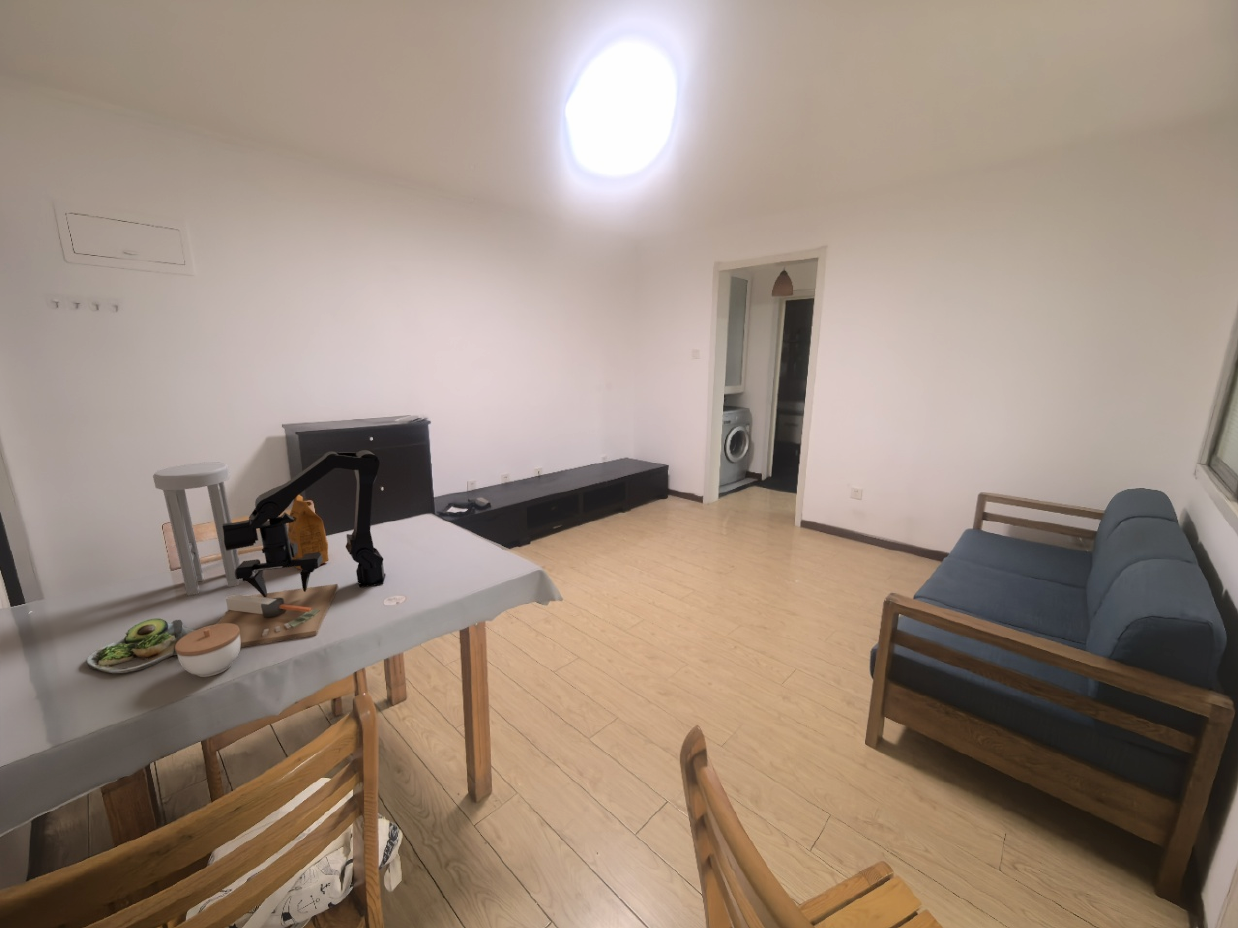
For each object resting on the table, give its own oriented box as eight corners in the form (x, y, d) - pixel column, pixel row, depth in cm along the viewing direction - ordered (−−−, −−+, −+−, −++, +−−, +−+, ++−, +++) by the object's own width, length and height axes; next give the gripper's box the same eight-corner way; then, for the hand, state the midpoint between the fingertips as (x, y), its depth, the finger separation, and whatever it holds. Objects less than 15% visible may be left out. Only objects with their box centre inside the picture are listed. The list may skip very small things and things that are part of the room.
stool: (249, 566, 154) (229, 459, 146) (246, 586, 142) (223, 470, 133) (186, 578, 146) (160, 466, 137) (176, 600, 133) (147, 478, 125)
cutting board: (338, 587, 141) (337, 582, 141) (316, 634, 118) (315, 629, 118) (239, 600, 133) (238, 595, 133) (196, 654, 110) (195, 648, 110)
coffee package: (323, 551, 165) (313, 490, 160) (332, 563, 156) (323, 498, 151) (288, 560, 158) (277, 496, 153) (296, 573, 150) (285, 505, 144)
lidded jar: (193, 691, 99) (184, 651, 96) (174, 672, 104) (164, 634, 102) (254, 663, 108) (246, 625, 105) (233, 647, 113) (225, 611, 111)
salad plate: (221, 640, 116) (218, 622, 115) (126, 687, 100) (121, 668, 99) (173, 623, 123) (169, 606, 122) (76, 664, 107) (71, 646, 106)
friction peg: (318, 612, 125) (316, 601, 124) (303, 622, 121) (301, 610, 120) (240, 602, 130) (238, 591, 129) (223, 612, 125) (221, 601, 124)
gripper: (323, 525, 138) (331, 575, 142) (245, 533, 132) (256, 585, 136) (313, 540, 128) (322, 593, 131) (228, 549, 122) (240, 605, 126)
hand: (285, 593), depth 131 cm, fingers open, 9 cm apart
